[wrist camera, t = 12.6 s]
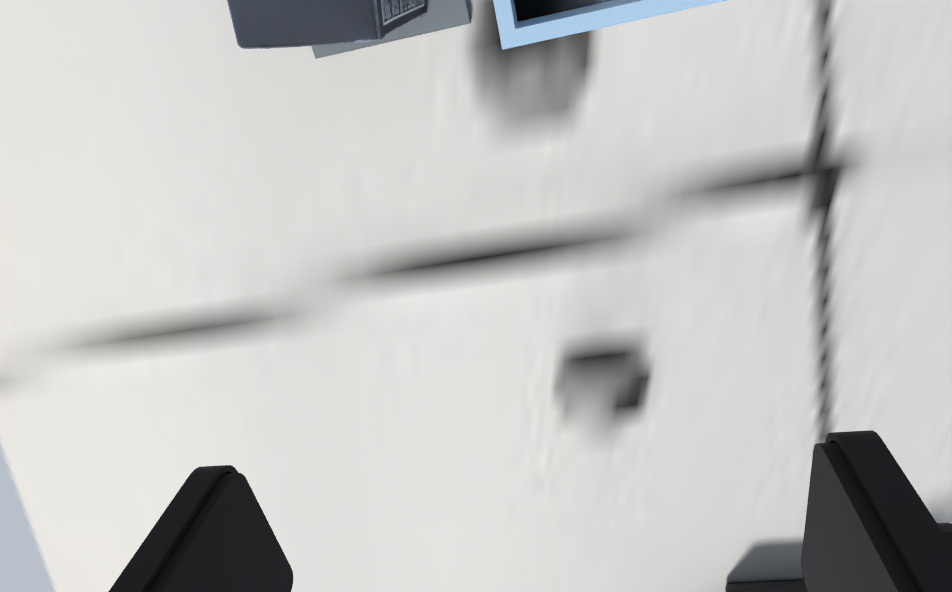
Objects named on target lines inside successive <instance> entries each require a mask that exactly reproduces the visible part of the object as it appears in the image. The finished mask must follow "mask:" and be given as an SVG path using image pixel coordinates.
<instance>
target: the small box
mask: <svg viewBox="0 0 952 592" xmlns="http://www.w3.org/2000/svg"><path fill="white" fill-rule="evenodd" d="M227 1H228V6H229V10H230V14H231V18H232V22H233V27H234V31H235V35H236V39H237V43H238V46H239V47H241V48H243V49H257V48H281V47H302V46H317V45H335V44H349V43H362V42H376V41H380V40H381V39H382V38H384V37H385V35H387V34H389V33H390V32H391V31H393V30H395V29H397V28H399V27H401V26H403V25H404V24H407V23H408V22H410V21H412V20H414V19H416V18H417V17H421V16H424V15H425V14H426V13H427V4H426V0H227Z"/></svg>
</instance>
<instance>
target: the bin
mask: <svg viewBox="0 0 952 592" xmlns="http://www.w3.org/2000/svg"><path fill="white" fill-rule="evenodd" d="M493 1H494V7H495V12H496V18H497V23H498V28H499V34H500V39H501V45H502V50H503V49H507V48H512V47H516V46H521V45H525V44H530V43H535V42H539V41H544V40H548V39H553V38H557V37H562V36H566V35H571V34H576V33H580V32H585V31H589V30H594V29H598V28H603V27H608V26H612V25H617V24H621V23H626V22H630V21H635V20H640V19H644V18H649V17H653V16H658V15H662V14H667V13H672V12H676V11H681V10H685V9H690V8H694V7H699V6H703V5H708V4H713V3H717V2H722V1H726V0H611V1H607V2H603V3H598V4H594V5H589V6H585V7H581V8H576V9H572V10H567V11H563V12H559V13H554V14H550V15H545V16H541V17H536V18H532V19H528V20H523V21H519V22H518V21H517V15H516V9H515V3H514V0H493Z"/></svg>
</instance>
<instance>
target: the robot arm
mask: <svg viewBox="0 0 952 592" xmlns="http://www.w3.org/2000/svg"><path fill="white" fill-rule="evenodd" d="M801 564H802V572H803V577H804V581H805V584H806V587H807V590H808V592H952V524H950V523H936V521H935V520H934V518H933V517H932V515H931V514H930V512H929V511H928V509H927V508H926V506H925V505H924V503H923V502H922V500H921V498H920V497H919V495H918V494H917V492H916V491H915V489H914V488H913V486H912V485H911V483H910V482H909V480H908V479H907V477H906V476H905V474H904V473H903V471H902V469H901V468H900V466H899V465H898V463H897V462H896V460H895V459H894V457H893V456H892V454H891V453H890V451H889V450H888V448H887V447H886V445H885V444H884V442H883V441H882V439H881V438H880V436H879V435H878V434H877V433H876V432H874V431H854V432H836V433H829V434H828V436H827V438H826V443H819V444H815V446H814V450H813V459H812V468H811V477H810V487H809V496H808V505H807V514H806V523H805V532H804V541H803V550H802V561H801ZM292 585H293V572H292V569H291V566H290V564H289V563H288V561H287V559H286V557H285V555H284V553H283V551H282V549H281V547H280V545H279V543H278V541H277V539H276V537H275V535H274V533H273V531H272V529H271V527H270V525H269V523H268V521H267V519H266V517H265V515H264V513H263V511H262V509H261V507H260V505H259V503H258V501H257V499H256V497H255V495H254V493H253V491H252V489H251V487H250V486H249V484H248V482H247V480H246V478H245V476H244V475H243V474H241V473H238V471H237V470H236V469H235V468H234V467H233V466H231V465H226V466H207V467H199V468H197V469H195V470H194V471H193V472H192V473H191V474H190V476H189V477H188V478H187V480H186V481H185V483H184V484H183V486H182V487H181V489H180V490H179V491H178V493H177V494H176V496H175V497H174V499H173V500H172V501H171V503H170V504H169V506H168V507H167V509H166V510H165V512H164V513H163V514H162V516H161V517H160V519H159V520H158V522H157V523H156V524H155V526H154V527H153V529H152V530H151V532H150V533H149V535H148V536H147V537H146V539H145V540H144V542H143V543H142V545H141V546H140V547H139V549H138V550H137V552H136V553H135V555H134V556H133V558H132V559H131V560H130V562H129V563H128V565H127V566H126V568H125V569H124V570H123V572H122V573H121V575H120V576H119V578H118V579H117V580H116V582H115V583H114V585H113V586H112V588H111V589H110V591H109V592H291V589H292Z"/></svg>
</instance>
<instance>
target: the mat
mask: <svg viewBox="0 0 952 592" xmlns="http://www.w3.org/2000/svg"><path fill="white" fill-rule="evenodd" d="M426 4H427V13H426V14H425V15H424V16H421V17H417V18H416V19H414V20H412V21H410V22H408V23H407V24H404V25H403V26H401V27H399V28H397V29H395V30H393V31H391V32H390V33H389V34H387V35H385V37H384V38H382V39H381V40H380V41H376V42H362V43H349V44H335V45H317V46H312V49H313V52H314V55H315V58H316V59H317V58H321V57H325V56H330V55H334V54H338V53H343V52H347V51H352V50H356V49H360V48H365V47H369V46H373V45H378V44H382V43H386V42H391V41H395V40H399V39H404V38H408V37H413V36H417V35H421V34H426V33H430V32H434V31H439V30H443V29H447V28H452V27H456V26H460V25H465V24H469V23H471V20H470V15H469V10H468V5H467V0H426Z"/></svg>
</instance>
